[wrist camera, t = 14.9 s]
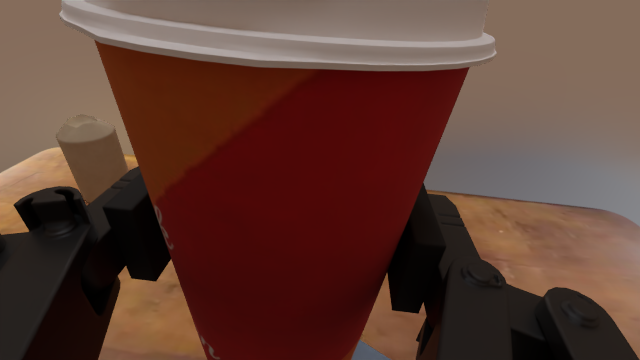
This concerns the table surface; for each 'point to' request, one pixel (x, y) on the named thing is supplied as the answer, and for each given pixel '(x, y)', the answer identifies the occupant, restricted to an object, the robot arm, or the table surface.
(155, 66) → the coffee cup
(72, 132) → the candle
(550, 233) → the table surface
